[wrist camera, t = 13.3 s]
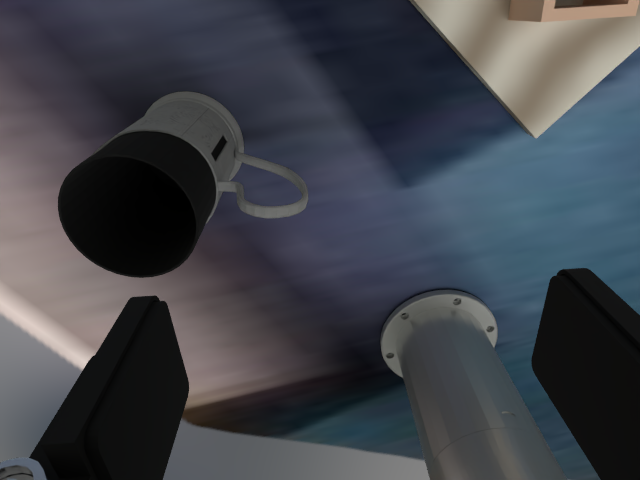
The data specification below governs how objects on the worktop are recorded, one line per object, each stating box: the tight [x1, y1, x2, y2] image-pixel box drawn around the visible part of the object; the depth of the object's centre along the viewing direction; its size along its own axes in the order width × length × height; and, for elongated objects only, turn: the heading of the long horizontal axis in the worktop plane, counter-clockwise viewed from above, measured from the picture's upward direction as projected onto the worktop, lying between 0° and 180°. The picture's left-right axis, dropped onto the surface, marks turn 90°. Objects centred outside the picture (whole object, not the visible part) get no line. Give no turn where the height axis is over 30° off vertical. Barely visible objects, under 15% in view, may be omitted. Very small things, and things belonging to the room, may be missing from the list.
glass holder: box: [58, 91, 308, 278], centre depth 30 cm, size 9×14×15 cm, turn 88°
